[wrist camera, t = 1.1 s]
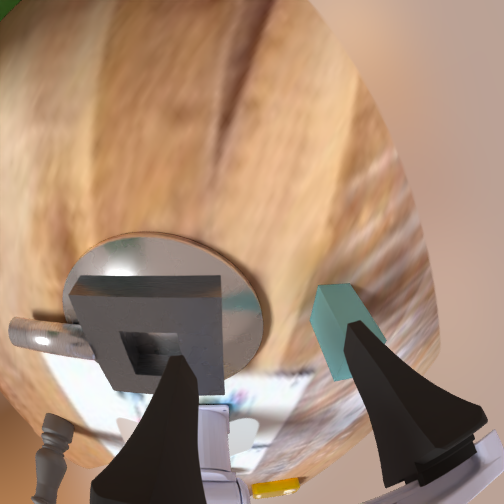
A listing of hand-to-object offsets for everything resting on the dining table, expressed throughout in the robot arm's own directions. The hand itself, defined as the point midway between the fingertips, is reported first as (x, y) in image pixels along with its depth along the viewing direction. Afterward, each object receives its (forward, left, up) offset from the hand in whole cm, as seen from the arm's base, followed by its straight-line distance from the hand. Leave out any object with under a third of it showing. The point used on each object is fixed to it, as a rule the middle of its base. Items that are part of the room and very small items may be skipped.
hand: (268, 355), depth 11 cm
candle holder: (-36, +33, -10) cm, 50 cm away
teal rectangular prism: (-6, -8, -10) cm, 14 cm away
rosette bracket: (-8, +11, -10) cm, 16 cm away
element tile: (-88, -13, -10) cm, 90 cm away
